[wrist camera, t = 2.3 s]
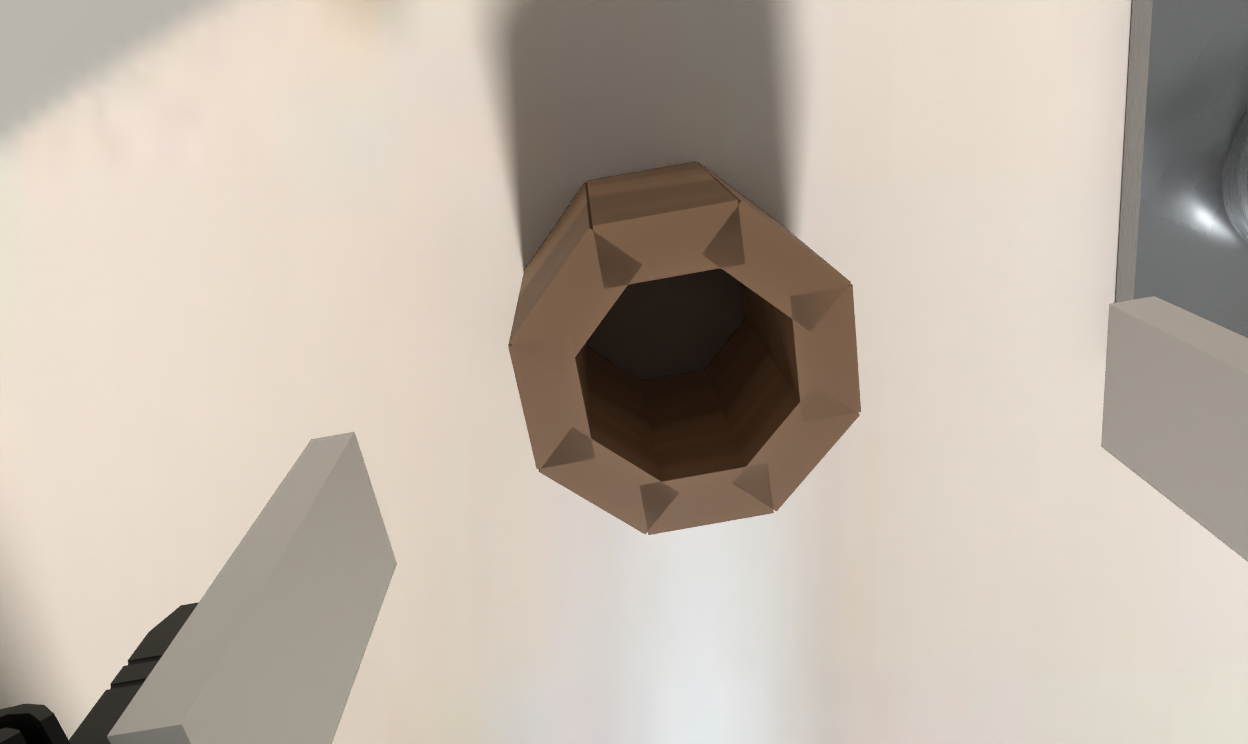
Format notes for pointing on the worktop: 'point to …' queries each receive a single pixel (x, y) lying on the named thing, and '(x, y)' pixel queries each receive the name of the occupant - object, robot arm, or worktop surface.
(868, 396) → the worktop surface
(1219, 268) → the stand
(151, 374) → the worktop surface
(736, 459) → the ring
